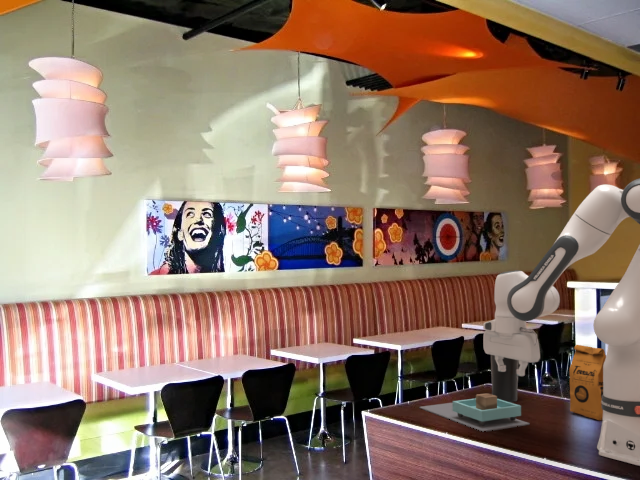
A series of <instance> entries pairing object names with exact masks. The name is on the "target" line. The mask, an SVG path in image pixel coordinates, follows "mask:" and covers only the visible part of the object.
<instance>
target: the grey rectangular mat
mask: <svg viewBox="0 0 640 480" xmlns="http://www.w3.org/2000/svg"><path fill="white" fill-rule="evenodd" d="M419 409H422V410H424V411H425V412H429V413H431V414H434V415H437V416H439V417H442V418H444V419H447V420H449V419H450V421H453V422H455V423H457V422H458V424H460V425H462V426H465V425H466V426H465V427H468V428H470V427H471V428H470V429H473V428H474V429H473V430H476V429H477V430H476V431H478V430H479V432H481V431H482V433H484V431H486V432H492V430H493V431H499V430H503V429H504V430H505V429H511V428H517V426H518V427H522V426H530V422H528V421H524V420H521V419H517V418H516V419H515V420H513V421H512V420H510V417H509V418H502V419H496V420H489V421H485V424H484V425H480V424H479V420H476V419H473V418H471V417H468V416H465V415H463V417H461V418H459V417H458V413H457V412H454V411H453V402H447V403H438V404H431V405H425V406H424V405H423V406H419Z"/></svg>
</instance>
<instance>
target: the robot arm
mask: <svg viewBox="0 0 640 480" xmlns="http://www.w3.org/2000/svg"><path fill="white" fill-rule="evenodd" d="M627 218H631V219H632V220H633V221H635V222H636V223H637V224H639V225H640V178H637V179H634V180H632V181H631V182H629V183H628V184H627V185H626V186H625V187H624V189H621V188H619V187H618V186H616V185H612V184H600V185H597V186H596V187H595V188H594V189H593V190H592V191H591V192H590V193H589V194H588V195H587V196H586V197H585V198H584V199H583V201H582V202H581V203H580V204H579V205H578V207H577V208H576V210H575V211H574V213H573V214H572V215H571V217H570V218H569V220H568V221H567V223H566V225H565V226H564V228H563V230H562V231H561V232H560V234H559V235H558V237H557V239H556V240H555V242H554V243H553V244H552V246H551V247H550V248H549V249H548V250H547V252H546V253H545V254H544V256H543V257H542V258H541V260H540V261H539V262H538V264H537V265H536V267H534V269H533V270H532V271H531V273H530V274H529V275H528V274H526V273H525V272H524V271H522V270H518V269H516V270H508V271H503V272H501V273H499V274H498V275H497V276H496V277H495V278H496V279H495V281H494V283H495V284H494V294H493V295H494V296H493V297H494V304H495V311H494V319H492V320H489V321H486V322H484V323H483V324H482V326H483V327H482V328H483V330H484V332H483V336H482V337H483V339H482V340H483V343H482V344H483V350H484V353H485V354H487V355H490V356H491V355H495V360H496V362H497V365H498V371H501V372H505V371H506V365H504V363H503V360H502V359H504V357H505V358H510V359H515V360H518V365H519V366H518V369H517V375H518V377H524V376H525V375H526V369H527V367H528V365H529V363H538V362H539V361H540V360H541V351H540V350H541V349H540V343H539V342H540V341H539V339H538V334H537V333H536V332H535V331H534V329H532V328H527V322H530V321H533V320H535V319H537V318H542V317H546V316H549V315H551V314H553V313H555V312H556V311H557V310H558V308H559V306H560V304H561V295H560V293H559V291H558V289H557V288H556V287H555V286H554V285H555V283H556V282H557V281H558V279H559V278H560V277H561V275H562V274H563V273H564V271H566V269H567V268H568V267H570V266H571V265H573V264H574V263H576V262H577V261H579V260H581V259H585V258H586V257H589V256H591V255H594V254H595V253H596V252H598V250H600V249H601V248H602V247H603V246H604V245H605V244H606V243H607V241H608V240H609V239H610V237H611V236H612V234H613V233H614V231H615V230H616V229H617V228H618V226H619V225H620V223H621V222H622V221H624V220H626V219H627ZM592 327H593V330H594V333H595V334H594V335H596V337H597V338H598V339H599V341H601V342H603V343H604V345H605V344H606V345H608V346H607V351H606V354H605V355H606V359H605V362H604V365H603V395H602V401H601V403H602V406H601V408H602V409H603V419H602V420H601V427H600V434H599V439H598V441H597V445H596V449H597V450H598V455H599V456H602V457H605V458H609V459H613V460H617V461H621V462H624V463H626V464H627V463H628V464H632V465H635V466H639V467H640V244H639V245H638V247H637V249H636V251H635V253H634V255H633V257H632V259H631V261H630V263H629V265H628V267H627V269H626V271H625V272H624V275H623V276H622V277H621V279H620V280H619V282H618V284H617V285H616V286H615V287H614V289H613V291H612V292H611V294H610V295H609V297H608V298H607V299H606V302H605V303H604V305H603V307H602V308H601V309H600V310H599V311H598V313H597V314H596V315H595V317H594V319H593V326H592Z"/></svg>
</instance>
